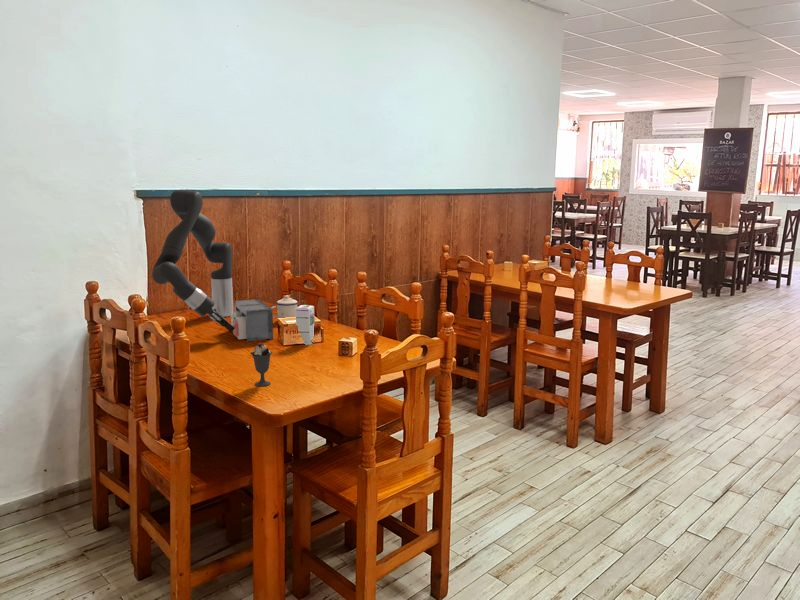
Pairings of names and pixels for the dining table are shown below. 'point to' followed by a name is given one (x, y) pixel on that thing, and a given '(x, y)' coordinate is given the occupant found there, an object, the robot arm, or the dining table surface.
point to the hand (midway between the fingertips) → (232, 329)
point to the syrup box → (305, 322)
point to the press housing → (256, 318)
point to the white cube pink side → (240, 327)
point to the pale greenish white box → (236, 314)
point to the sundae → (261, 362)
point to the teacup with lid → (285, 307)
